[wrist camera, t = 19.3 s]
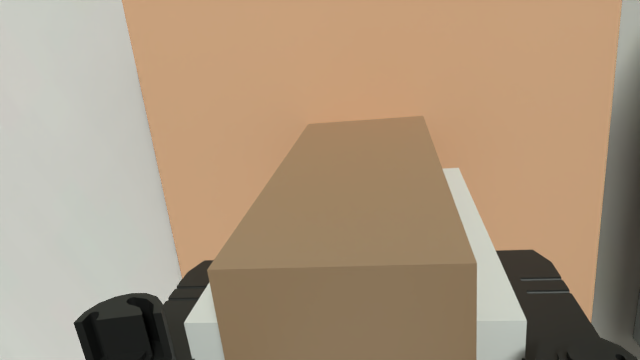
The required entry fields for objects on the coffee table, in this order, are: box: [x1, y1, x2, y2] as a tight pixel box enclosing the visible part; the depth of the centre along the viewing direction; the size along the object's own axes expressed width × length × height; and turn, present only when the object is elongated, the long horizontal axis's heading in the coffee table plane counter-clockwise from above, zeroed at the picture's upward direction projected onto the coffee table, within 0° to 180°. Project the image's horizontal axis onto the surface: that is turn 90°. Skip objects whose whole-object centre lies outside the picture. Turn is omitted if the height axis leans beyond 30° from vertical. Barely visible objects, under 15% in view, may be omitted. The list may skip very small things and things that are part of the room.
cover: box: [122, 0, 622, 360], centre depth 12 cm, size 14×14×10 cm
